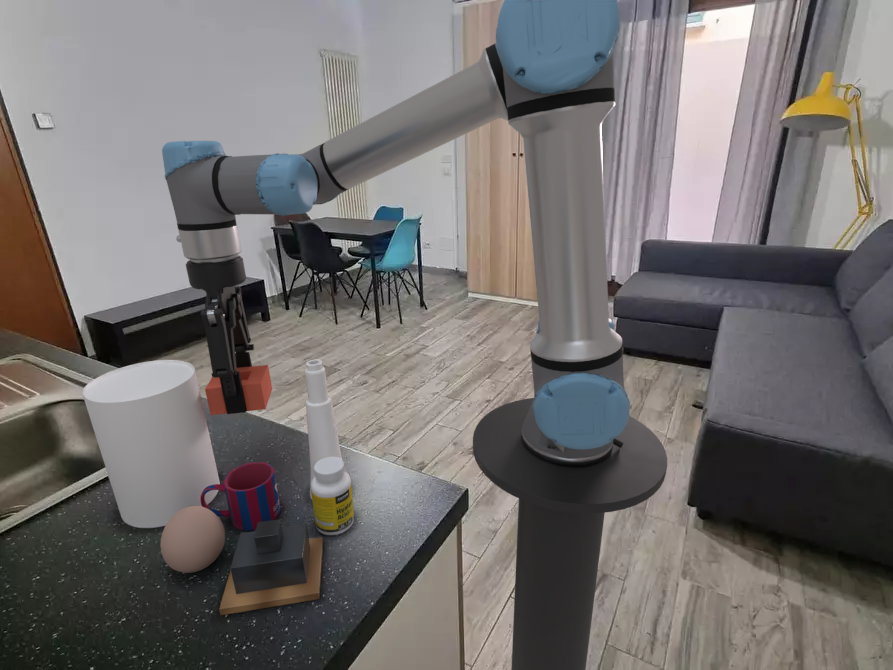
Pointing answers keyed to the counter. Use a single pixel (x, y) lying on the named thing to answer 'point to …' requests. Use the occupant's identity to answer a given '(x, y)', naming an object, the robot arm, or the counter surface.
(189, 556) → the egg
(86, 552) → the counter surface
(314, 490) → the supplement bottle
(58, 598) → the counter surface
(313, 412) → the cosmetic bottle
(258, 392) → the coral block
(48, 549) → the counter surface
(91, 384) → the canister
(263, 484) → the cup
